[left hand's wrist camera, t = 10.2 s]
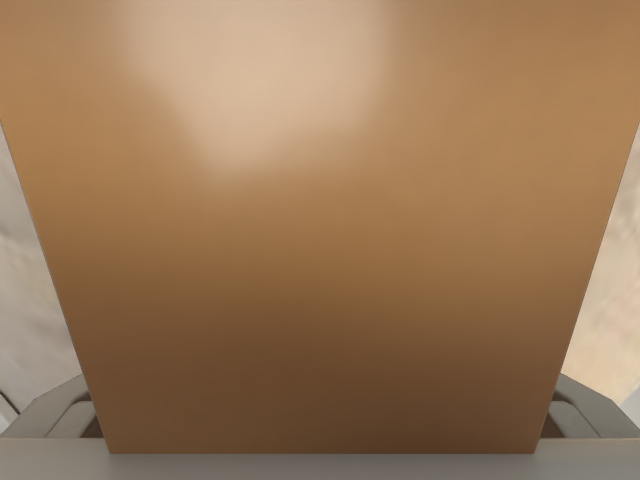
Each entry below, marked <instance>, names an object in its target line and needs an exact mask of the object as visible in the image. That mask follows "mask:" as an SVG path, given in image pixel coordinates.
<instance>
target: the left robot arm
mask: <svg viewBox="0 0 640 480" xmlns="http://www.w3.org/2000/svg"><path fill="white" fill-rule="evenodd" d="M0 480H640V429H639V428H638V427H637V426H636V425H635V424H634V423H633V422H632V421H631V420H630V419H629V418H628V416H627V415H626V414H625V413H624V412H623V411H622V410H621V409H620V408H619V407H618V406H617V405H616V404H615V403H614V402H613V401H612V400H611V399H609V398H607V397H605V396H603V395H601V394H599V393H598V392H596V391H594V390H592V389H590V388H588V387H586V386H584V385H583V384H581V383H579V382H577V381H575V380H573V379H571V378H569V377H568V376H566V375H564V374H562V373H560V375H559V378H558V381H557V384H556V387H555V390H554V394H553V397H552V400H551V403H550V406H549V409H548V413H547V416H546V419H545V422H544V425H543V428H542V432H541V435H540V438H539V441H538V444H537V447H536V451H535V453H534V454H111V453H109V451H108V448H107V445H106V442H105V439H104V436H103V433H102V430H101V427H100V424H99V421H98V418H97V415H96V412H95V409H94V406H93V403H92V400H91V397H90V394H89V391H88V388H87V384H86V381H85V378H84V375H83V373H82V374H81V375H79V376H77V377H75V378H73V379H71V380H69V381H67V382H66V383H64V384H62V385H60V386H58V387H56V388H54V389H53V390H51V391H49V392H47V393H45V394H43V395H41V396H39V397H38V398H36V399H34V400H33V401H32V402H31V403H30V404H29V405H28V406H27V407H26V408H25V409H24V410H23V412H22V413H21V414H20V415H18V414H17V413H16V412H15V410H14V409H13V408H12V407H11V406H10V404H9V403H8V402H7V401H6V400H5V399H4V397H3V396H2V395H1V394H0Z"/></svg>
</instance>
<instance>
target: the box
mask: <svg viewBox="0 0 640 480" xmlns="http://www.w3.org/2000/svg"><path fill="white" fill-rule="evenodd" d="M639 122H640V0H0V123H1V126H2V129H3V132H4V135H5V138H6V141H7V145H8V148H9V151H10V154H11V157H12V160H13V163H14V166H15V169H16V172H17V175H18V178H19V181H20V184H21V187H22V190H23V193H24V196H25V199H26V202H27V205H28V208H29V211H30V214H31V217H32V220H33V223H34V227H35V230H36V233H37V236H38V239H39V242H40V245H41V248H42V251H43V254H44V257H45V260H46V263H47V266H48V269H49V272H50V275H51V278H52V281H53V284H54V287H55V290H56V293H57V296H58V299H59V302H60V306H61V309H62V312H63V315H64V318H65V321H66V324H67V327H68V330H69V333H70V336H71V339H72V342H73V345H74V348H75V351H76V354H77V357H78V360H79V363H80V366H81V369H82V372H83V375H84V378H85V381H86V384H87V388H88V391H89V394H90V397H91V400H92V403H93V406H94V409H95V412H96V415H97V418H98V421H99V424H100V427H101V430H102V433H103V436H104V439H105V442H106V445H107V448H108V451H109V453H111V454H534V453H535V451H536V447H537V444H538V441H539V438H540V435H541V432H542V428H543V425H544V422H545V419H546V416H547V413H548V409H549V406H550V403H551V400H552V397H553V394H554V390H555V387H556V384H557V381H558V378H559V375H560V371H561V368H562V365H563V362H564V359H565V356H566V352H567V349H568V346H569V343H570V340H571V337H572V334H573V330H574V327H575V324H576V321H577V318H578V315H579V311H580V308H581V305H582V302H583V299H584V296H585V292H586V289H587V286H588V283H589V280H590V277H591V273H592V270H593V267H594V264H595V261H596V258H597V254H598V251H599V248H600V245H601V242H602V239H603V235H604V232H605V229H606V226H607V223H608V220H609V216H610V213H611V210H612V207H613V204H614V201H615V197H616V194H617V191H618V188H619V185H620V182H621V178H622V175H623V172H624V169H625V166H626V163H627V159H628V156H629V153H630V150H631V147H632V144H633V140H634V137H635V134H636V131H637V128H638V125H639Z"/></svg>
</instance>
